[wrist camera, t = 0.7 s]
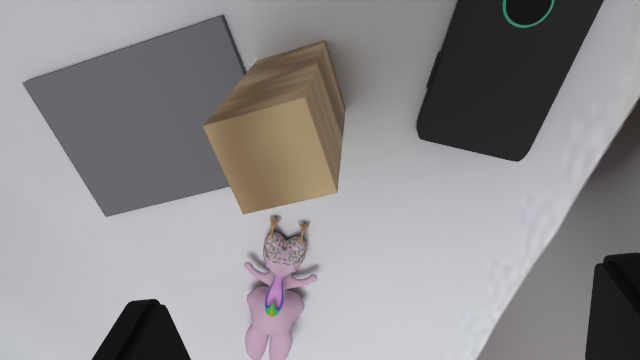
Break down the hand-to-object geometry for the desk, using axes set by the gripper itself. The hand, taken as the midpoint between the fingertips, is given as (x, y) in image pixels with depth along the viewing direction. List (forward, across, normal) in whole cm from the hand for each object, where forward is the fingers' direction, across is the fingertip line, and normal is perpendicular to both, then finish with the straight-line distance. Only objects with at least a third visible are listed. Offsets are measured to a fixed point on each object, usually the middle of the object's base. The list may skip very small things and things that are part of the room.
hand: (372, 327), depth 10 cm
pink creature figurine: (+24, +10, +18) cm, 32 cm away
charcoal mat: (+24, +16, +2) cm, 29 cm away
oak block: (+24, +5, +1) cm, 24 cm away
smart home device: (+24, -10, -2) cm, 26 cm away
